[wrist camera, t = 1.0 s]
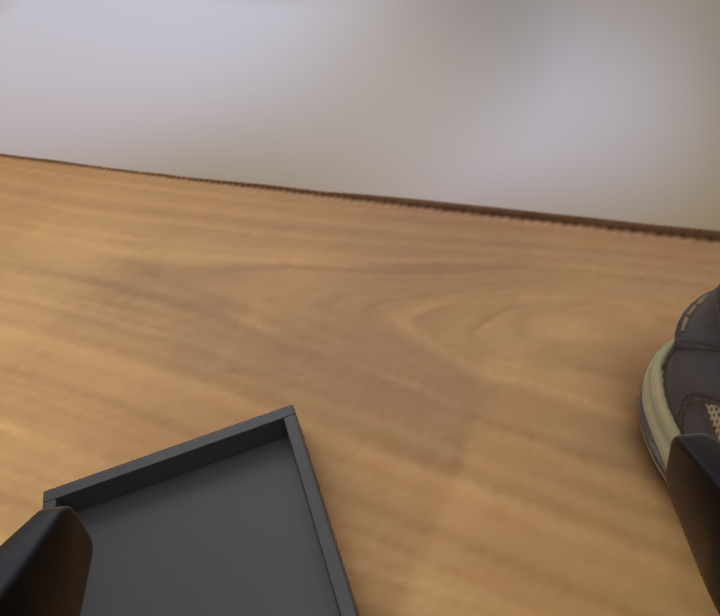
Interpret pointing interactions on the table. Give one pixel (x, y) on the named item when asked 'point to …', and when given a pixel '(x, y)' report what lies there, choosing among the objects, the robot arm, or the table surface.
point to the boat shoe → (684, 381)
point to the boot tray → (212, 529)
